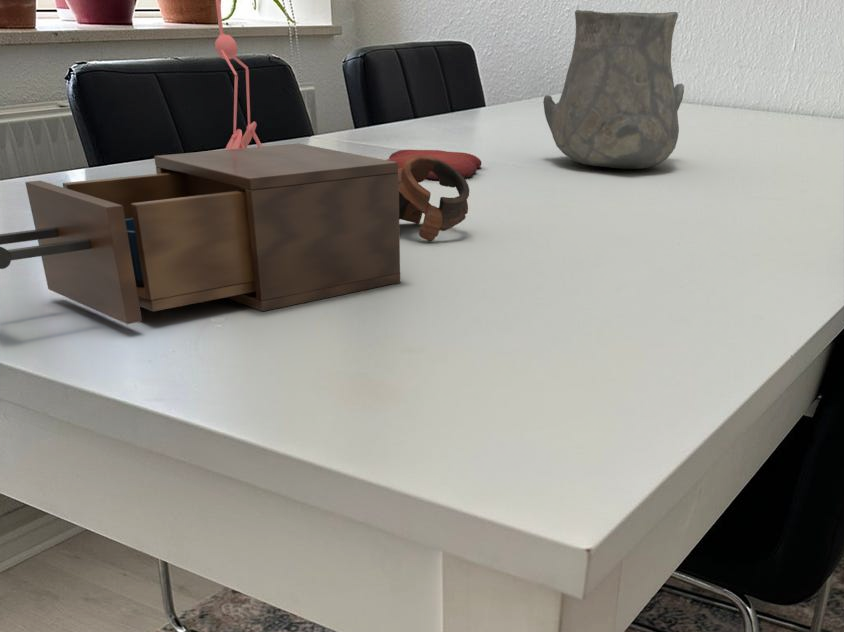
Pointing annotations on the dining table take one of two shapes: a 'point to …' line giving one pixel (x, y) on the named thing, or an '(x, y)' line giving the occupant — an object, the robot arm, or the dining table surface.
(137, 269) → the blue cup
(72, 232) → the drawer
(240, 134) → the figurine
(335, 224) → the cabinet
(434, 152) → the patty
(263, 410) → the dining table surface
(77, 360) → the dining table surface
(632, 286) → the dining table surface
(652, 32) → the vessel
